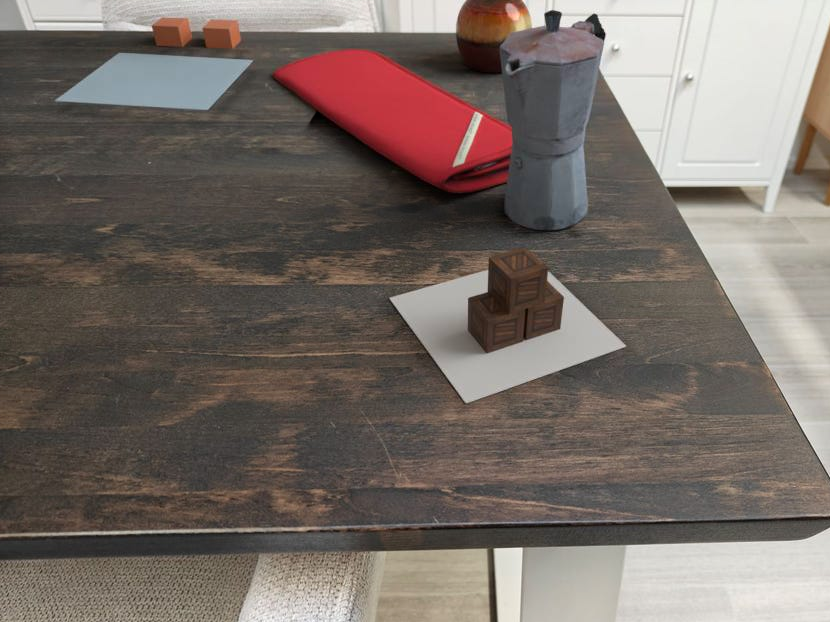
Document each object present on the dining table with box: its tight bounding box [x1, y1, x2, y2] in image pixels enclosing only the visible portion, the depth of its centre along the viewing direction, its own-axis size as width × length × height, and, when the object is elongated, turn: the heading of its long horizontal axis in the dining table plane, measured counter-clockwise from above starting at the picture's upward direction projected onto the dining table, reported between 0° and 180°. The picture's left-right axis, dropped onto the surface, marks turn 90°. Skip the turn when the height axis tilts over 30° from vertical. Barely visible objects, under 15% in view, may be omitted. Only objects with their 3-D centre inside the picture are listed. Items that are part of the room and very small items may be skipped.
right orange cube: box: [201, 19, 242, 50], centre depth 111 cm, size 4×4×4 cm
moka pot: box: [500, 9, 607, 231], centre depth 72 cm, size 10×15×20 cm, turn 145°
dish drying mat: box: [271, 48, 513, 194], centre depth 93 cm, size 16×41×4 cm, turn 36°
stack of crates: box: [388, 246, 627, 404], centre depth 62 cm, size 15×15×7 cm
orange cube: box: [151, 17, 193, 48], centre depth 111 cm, size 4×4×4 cm
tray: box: [54, 52, 254, 111], centre depth 101 cm, size 20×18×1 cm
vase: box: [455, 0, 533, 74], centre depth 106 cm, size 11×11×15 cm
